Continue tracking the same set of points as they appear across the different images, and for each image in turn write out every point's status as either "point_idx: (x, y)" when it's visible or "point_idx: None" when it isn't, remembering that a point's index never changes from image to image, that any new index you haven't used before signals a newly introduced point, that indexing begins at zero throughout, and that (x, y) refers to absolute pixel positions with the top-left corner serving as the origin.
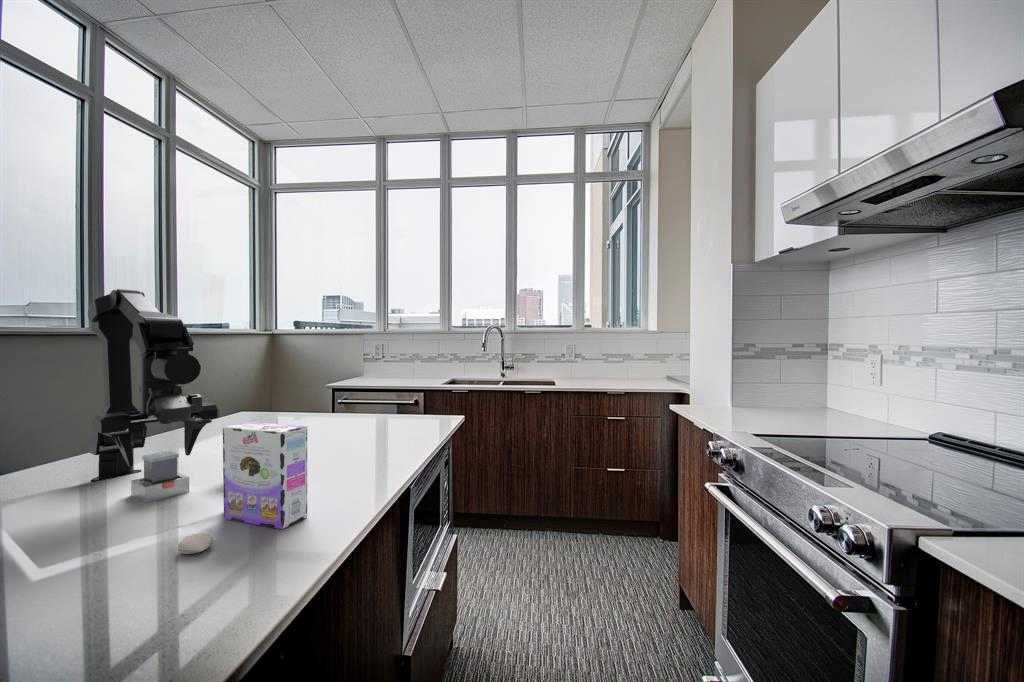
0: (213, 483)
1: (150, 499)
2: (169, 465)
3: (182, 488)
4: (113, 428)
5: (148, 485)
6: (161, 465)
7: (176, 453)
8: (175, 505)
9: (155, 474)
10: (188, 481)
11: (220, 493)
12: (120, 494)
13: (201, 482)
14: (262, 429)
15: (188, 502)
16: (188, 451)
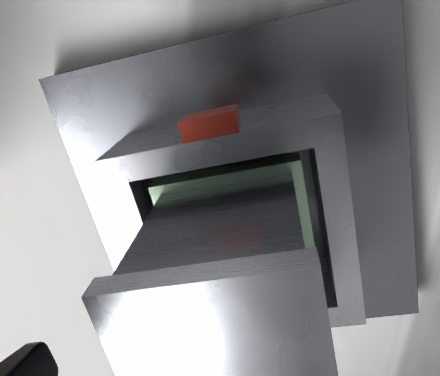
0: (39, 260)
1: (303, 99)
2: (179, 240)
3: (149, 135)
4: None
5: (318, 142)
6: (233, 238)
7: (99, 330)
8: (201, 35)
9: (275, 205)
10: (109, 152)
11: (6, 79)
12: (354, 367)
13: (83, 306)
14: None
15: (144, 39)
16: (17, 361)
